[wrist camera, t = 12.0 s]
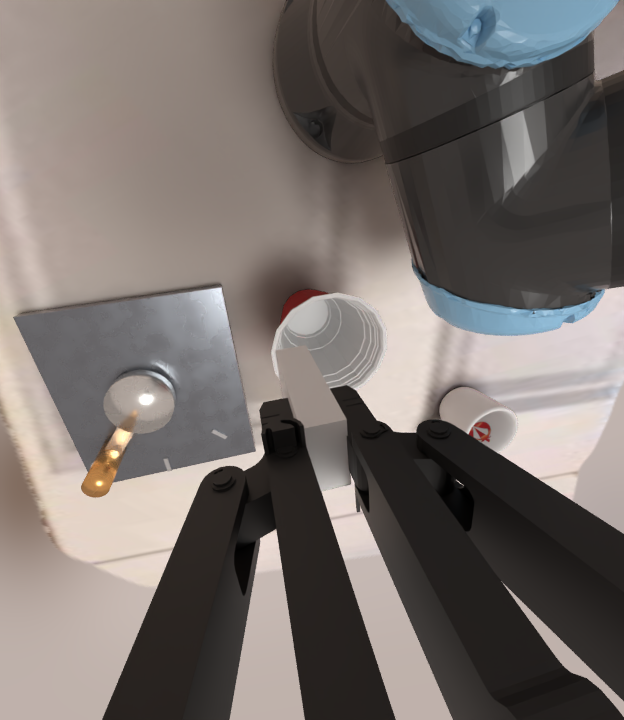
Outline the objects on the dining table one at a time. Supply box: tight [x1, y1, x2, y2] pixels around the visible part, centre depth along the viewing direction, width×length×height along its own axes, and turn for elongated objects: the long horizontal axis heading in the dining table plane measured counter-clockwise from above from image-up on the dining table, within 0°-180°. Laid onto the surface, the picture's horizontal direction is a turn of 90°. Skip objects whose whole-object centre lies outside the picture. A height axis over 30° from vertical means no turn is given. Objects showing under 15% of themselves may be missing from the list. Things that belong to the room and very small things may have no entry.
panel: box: [13, 285, 256, 483], centre depth 41 cm, size 22×20×2 cm
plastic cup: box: [271, 289, 387, 390], centre depth 36 cm, size 11×11×12 cm
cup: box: [439, 387, 518, 453], centre depth 49 cm, size 11×8×8 cm
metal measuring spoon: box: [81, 370, 176, 497], centre depth 38 cm, size 13×7×6 cm, turn 146°
